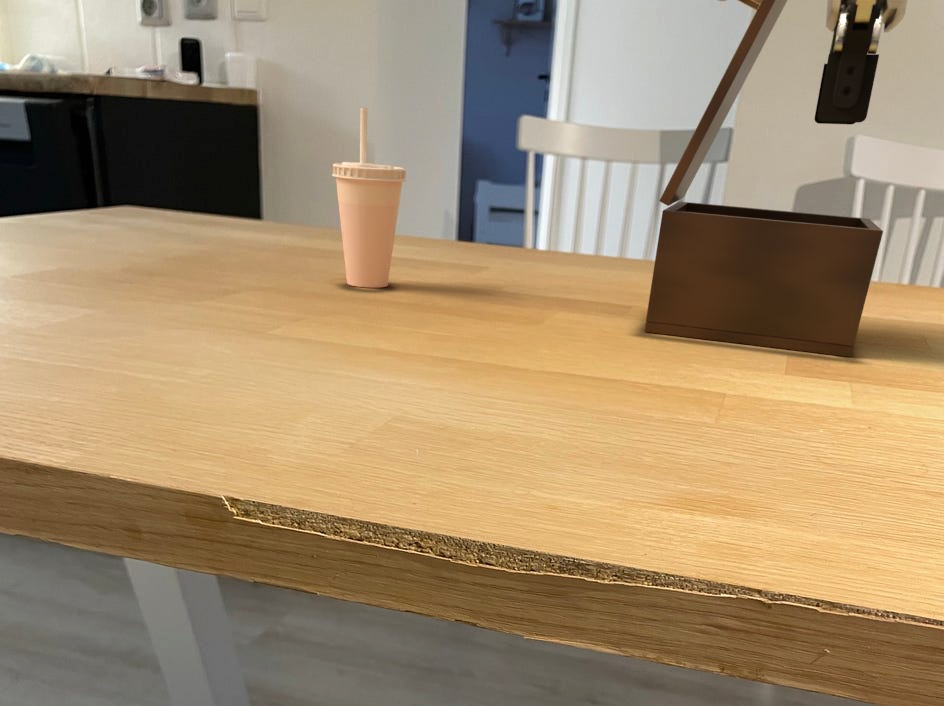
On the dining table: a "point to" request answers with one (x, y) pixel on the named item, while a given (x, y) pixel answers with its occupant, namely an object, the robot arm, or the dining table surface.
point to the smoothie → (368, 215)
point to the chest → (762, 277)
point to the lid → (723, 96)
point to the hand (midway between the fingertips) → (837, 122)
